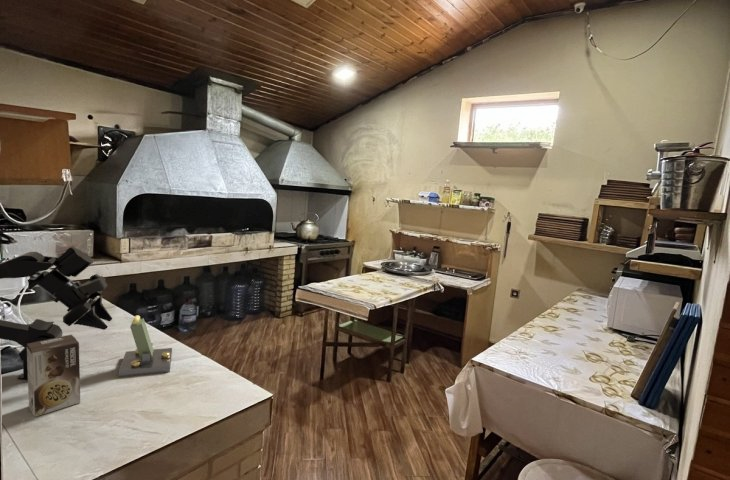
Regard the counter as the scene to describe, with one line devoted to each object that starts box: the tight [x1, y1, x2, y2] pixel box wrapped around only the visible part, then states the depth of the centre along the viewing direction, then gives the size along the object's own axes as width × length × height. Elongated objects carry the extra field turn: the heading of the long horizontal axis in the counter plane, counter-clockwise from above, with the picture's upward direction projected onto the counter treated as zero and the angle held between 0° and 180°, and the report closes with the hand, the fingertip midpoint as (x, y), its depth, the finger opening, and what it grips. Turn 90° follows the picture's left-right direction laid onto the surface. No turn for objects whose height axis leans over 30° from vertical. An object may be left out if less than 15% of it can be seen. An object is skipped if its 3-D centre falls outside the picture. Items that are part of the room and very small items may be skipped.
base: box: [118, 342, 173, 378], centre depth 118 cm, size 13×13×5 cm
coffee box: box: [27, 334, 81, 418], centre depth 94 cm, size 9×6×16 cm
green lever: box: [130, 315, 154, 360], centre depth 116 cm, size 3×5×13 cm, turn 23°
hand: (108, 324), depth 113 cm, fingers open, 7 cm apart
